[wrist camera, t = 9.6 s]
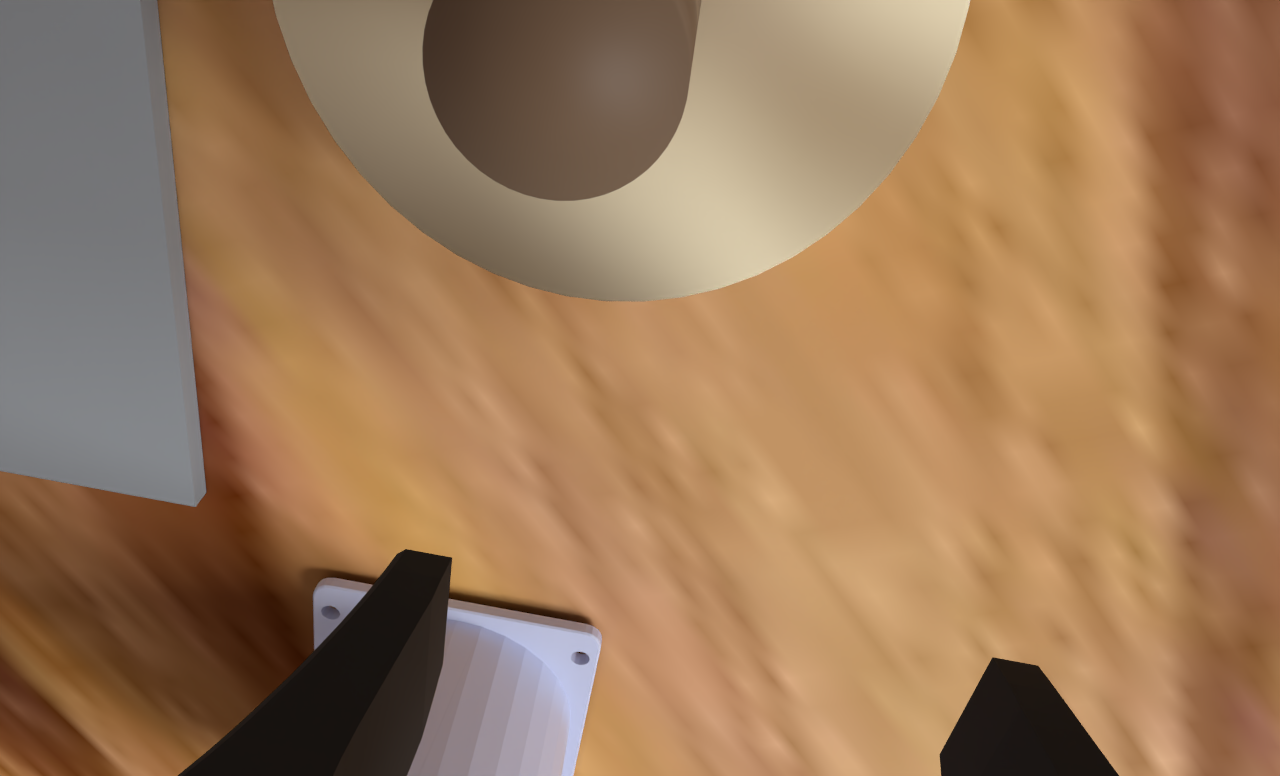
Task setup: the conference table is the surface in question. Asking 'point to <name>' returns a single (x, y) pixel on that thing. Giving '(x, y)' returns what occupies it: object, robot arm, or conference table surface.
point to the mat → (92, 255)
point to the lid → (623, 125)
